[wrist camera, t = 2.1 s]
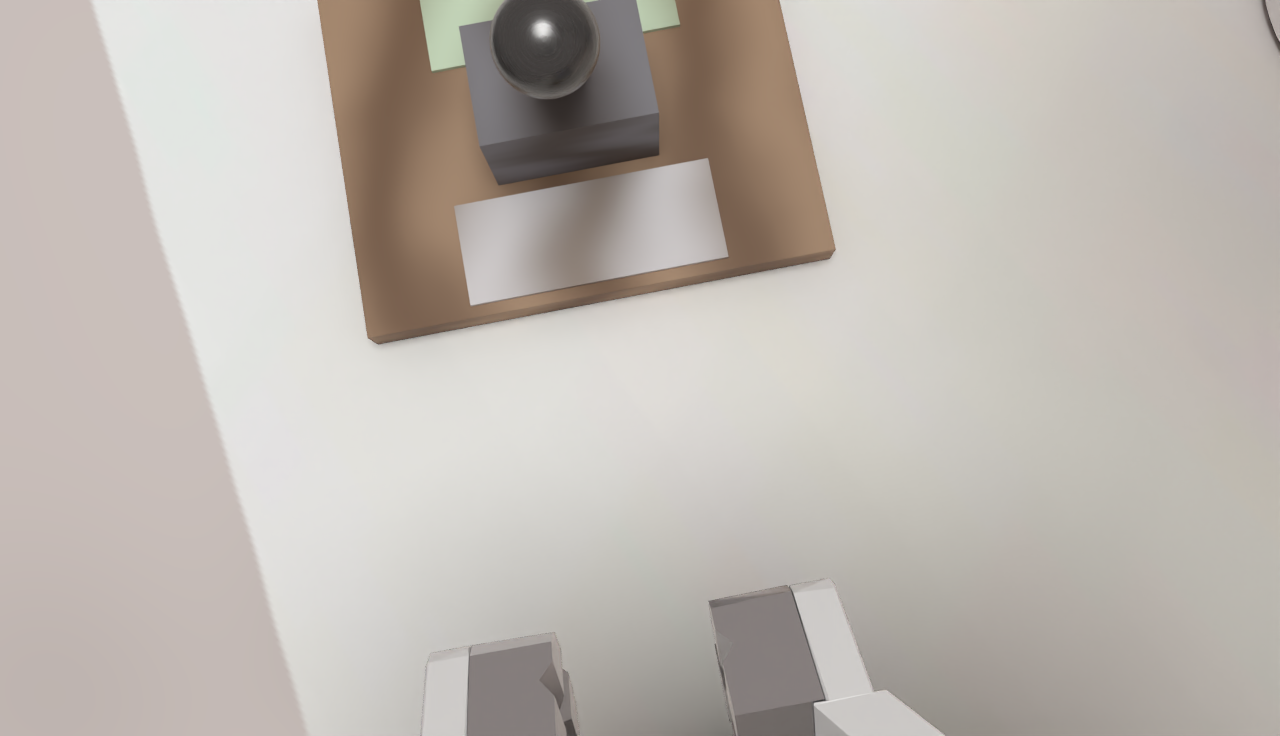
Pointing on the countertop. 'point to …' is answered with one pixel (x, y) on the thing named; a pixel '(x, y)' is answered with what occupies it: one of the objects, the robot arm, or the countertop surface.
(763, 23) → the switch board
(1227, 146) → the countertop surface
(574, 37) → the toggle lever
